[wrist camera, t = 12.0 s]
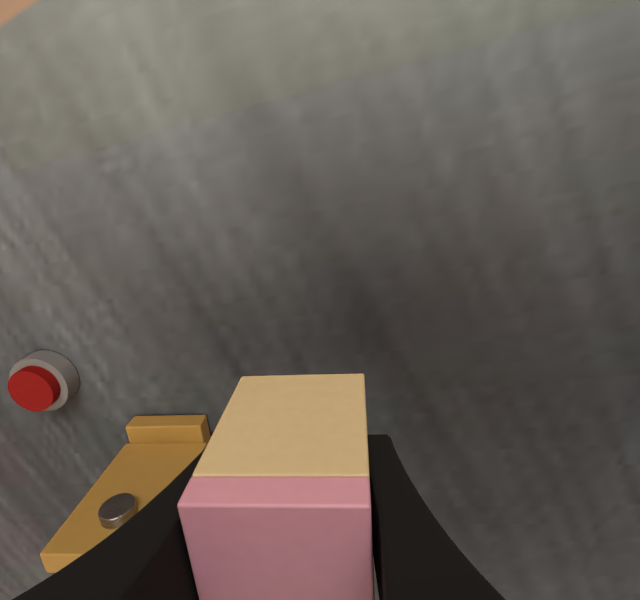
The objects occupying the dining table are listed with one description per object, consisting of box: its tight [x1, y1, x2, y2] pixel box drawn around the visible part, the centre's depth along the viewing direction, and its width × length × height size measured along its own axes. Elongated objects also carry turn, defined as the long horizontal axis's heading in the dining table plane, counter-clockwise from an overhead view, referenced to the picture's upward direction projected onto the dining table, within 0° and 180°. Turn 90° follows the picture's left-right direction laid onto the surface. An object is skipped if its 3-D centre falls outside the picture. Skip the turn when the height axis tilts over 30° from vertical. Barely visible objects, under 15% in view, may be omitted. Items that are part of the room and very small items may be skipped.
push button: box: [8, 350, 80, 412], centre depth 21 cm, size 3×3×2 cm
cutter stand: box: [40, 415, 211, 573], centre depth 19 cm, size 4×7×7 cm, turn 4°
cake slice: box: [177, 374, 375, 600], centre depth 11 cm, size 4×4×5 cm
